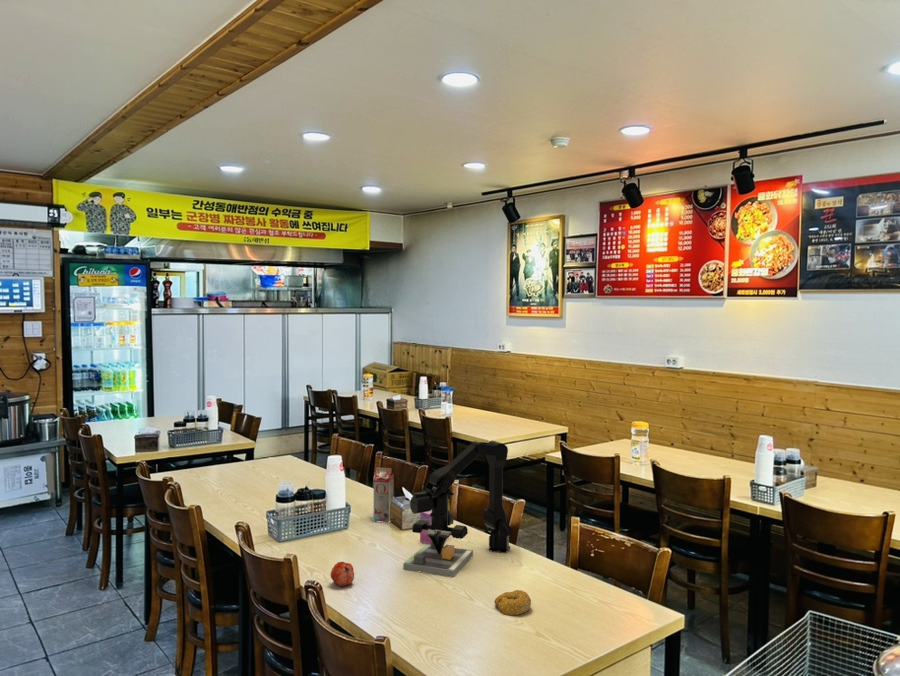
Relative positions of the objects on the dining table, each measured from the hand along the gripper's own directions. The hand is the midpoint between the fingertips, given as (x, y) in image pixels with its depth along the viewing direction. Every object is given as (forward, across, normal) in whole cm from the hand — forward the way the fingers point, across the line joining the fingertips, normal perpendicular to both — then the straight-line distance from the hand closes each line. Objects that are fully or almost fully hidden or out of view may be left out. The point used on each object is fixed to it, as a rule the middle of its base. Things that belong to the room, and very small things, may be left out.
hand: (439, 553), depth 221 cm
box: (+3, +10, -20) cm, 23 cm away
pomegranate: (+3, +22, +28) cm, 36 cm away
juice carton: (+3, +39, -35) cm, 53 cm away
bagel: (+4, -33, +24) cm, 41 cm away
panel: (+3, 0, 0) cm, 3 cm away
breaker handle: (+1, -3, 0) cm, 3 cm away
